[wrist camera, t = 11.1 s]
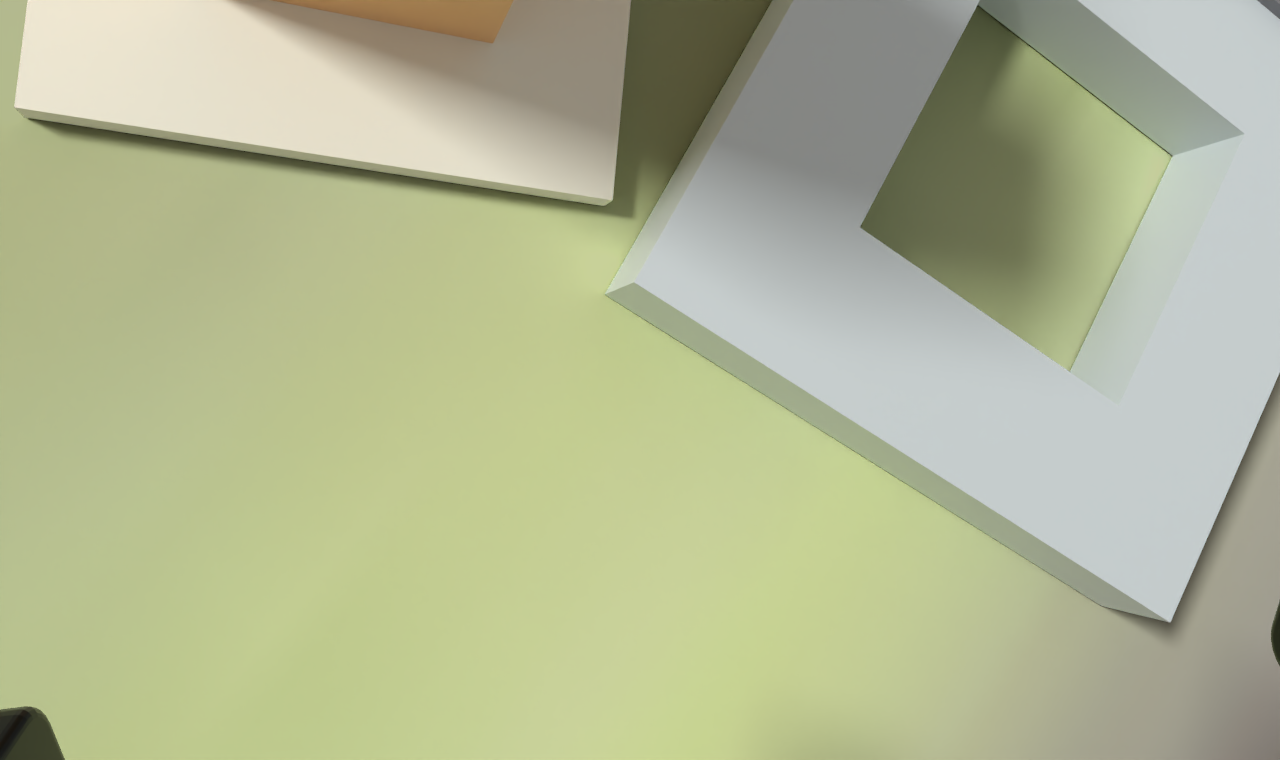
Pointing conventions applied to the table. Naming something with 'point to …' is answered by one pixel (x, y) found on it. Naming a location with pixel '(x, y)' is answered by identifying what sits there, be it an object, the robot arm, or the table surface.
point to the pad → (345, 86)
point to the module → (425, 14)
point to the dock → (958, 331)
